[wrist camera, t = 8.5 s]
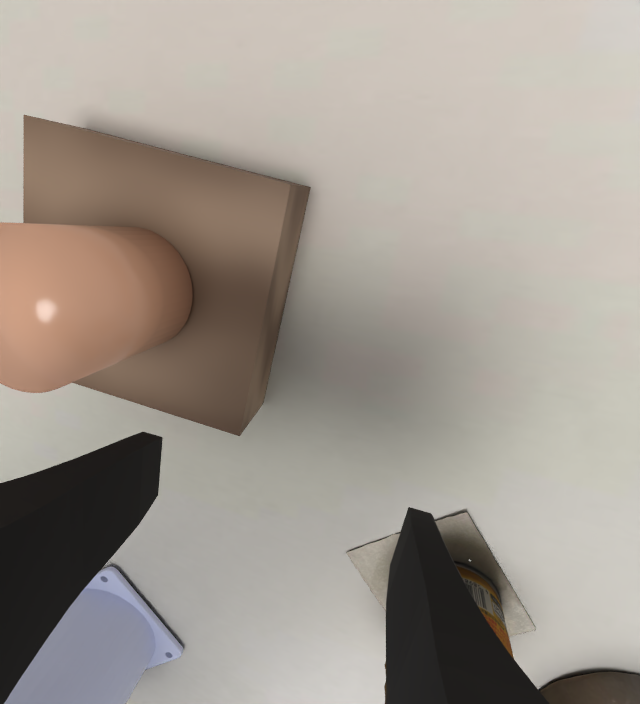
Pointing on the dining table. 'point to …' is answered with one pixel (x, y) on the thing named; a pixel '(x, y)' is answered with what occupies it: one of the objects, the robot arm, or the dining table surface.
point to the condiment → (477, 574)
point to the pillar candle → (595, 689)
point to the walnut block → (197, 253)
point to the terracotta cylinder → (84, 300)
